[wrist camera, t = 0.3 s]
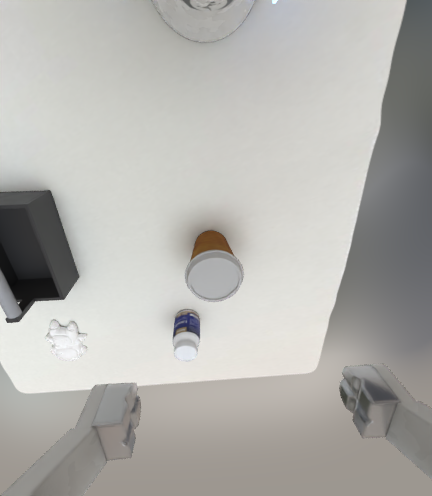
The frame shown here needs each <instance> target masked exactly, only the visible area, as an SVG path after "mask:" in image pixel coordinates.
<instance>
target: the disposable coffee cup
mask: <svg viewBox="0 0 432 496" xmlns="http://www.w3.org/2000/svg"><path fill="white" fill-rule="evenodd" d="M243 275H244V272H243V267H242V265H241V263H240V262H239V260H238V259H237V258H236V257H235V256H234V254H233V252H232V250H231V249H230V247H229V245H228V243H227V241H226V239H225V237H224V236H223V235H222V234H221V233H219V232H217V231H206V232H203V233H202V234H200V235H199V236H198V238H197V239H196V242H195V246H194V249H193V253H192V257H191V261H190V263H189V264H188V266H187V268H186V271H185V281H186V284H187V286H188V287H189V289H190V290H191V292H192V293H193V294H194V295H195V296H196V297H198V298H200V299H202V300H204V301H209V302H218V301H223V300H225V299H228V298H230V297H231V296H233V295H234V294H235V293H236V292H237V291H238V289H239V288H240V285H241V283H242V280H243Z"/></svg>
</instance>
